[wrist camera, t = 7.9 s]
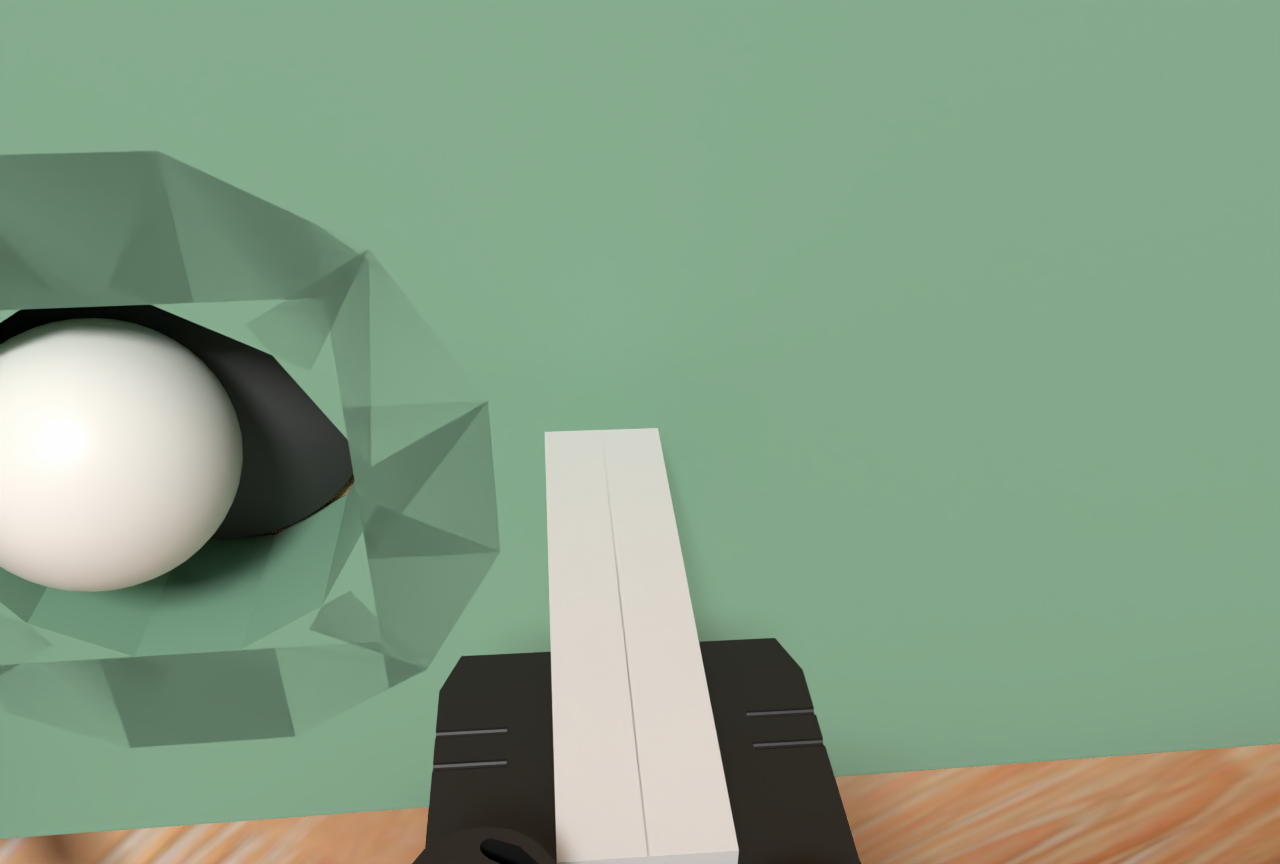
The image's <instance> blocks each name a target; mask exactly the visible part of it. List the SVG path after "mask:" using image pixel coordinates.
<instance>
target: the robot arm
mask: <svg viewBox="0 0 1280 864" xmlns="http://www.w3.org/2000/svg"><path fill="white" fill-rule="evenodd" d="M545 467H546V502H547V537H548V572H549V607H550V643H551V652H533V653H513V654H493V655H473V656H461V657H460V659H459V661H458V662H457V664H456V665H455V667H454V669H453V670H452V672H451V673H450V675H449V677H448V678H447V680H446V681H445V683H444V685H443V686H442V688H441V689H440V691H439V700H438V712H437V723H436V738H435V745H434V757H433V771H432V779H431V790H430V801H429V813H428V824H427V835H426V846H425V849H424V850H423V852H422V853H421V854H420V855H419V856H418V858H417V859H416V860H415V861H414V862H413V863H412V864H861V862H860V860H859V858H858V854H857V851H856V847H855V844H854V841H853V837H852V834H851V831H850V827H849V824H848V820H847V817H846V814H845V810H844V807H843V804H842V800H841V797H840V794H839V790H838V787H837V783H836V780H835V777H834V773H833V770H832V767H831V763H830V760H829V757H828V753H827V750H826V746H824V745H823V736H822V733H821V730H820V726H819V723H818V720H817V716H816V715H814V706H813V703H812V699H811V696H810V693H809V689H808V686H807V683H806V679H805V676H804V672H803V669H802V668H801V667H800V666H799V665H798V664H797V663H796V661H795V660H794V659H793V658H792V657H791V656H790V655H789V653H788V652H787V651H786V650H785V649H784V648H783V647H782V645H781V644H780V643H779V642H778V641H777V640H776V638H762V639H741V640H721V641H701V642H699V640H698V635H697V630H696V624H695V619H694V614H693V609H692V603H691V598H690V593H689V588H688V583H687V577H686V572H685V567H684V562H683V557H682V551H681V546H680V541H679V536H678V531H677V525H676V520H675V515H674V510H673V504H672V499H671V494H670V489H669V484H668V478H667V473H666V468H665V463H664V458H663V452H662V447H661V442H660V437H659V432H658V428H643V429H613V430H582V431H552V432H545Z"/></svg>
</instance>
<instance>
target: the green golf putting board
mask: <svg viewBox="0 0 1280 864" xmlns="http://www.w3.org/2000/svg"><path fill="white" fill-rule="evenodd" d="M7 318H8V319H7ZM79 318H104V319H116V320H121V321H126V322H131V323H135V324H138V325H141V326H144V327H147V328H150V329H153V330H155V331H157V332H159V333H161V334H164V335H166V336H168V337H170V338H172V339H174V340H175V341H177V342H178V343H180V344H181V345H183V346H184V347H186V348H188V349H189V350H190V351H191V352H192V353H194V354H195V355H196V356H197V357H198V358H199V359H201V360H202V361H203V362H204V363H205V364H206V365H207V367H208V368H209V369H210V370H211V371H212V372H213V373H214V374H215V376H216V377H217V378H218V380H219V381H220V383H221V384H222V386H223V387H224V389H225V390H226V392H227V394H228V396H229V398H230V400H231V402H232V405H233V407H234V409H235V412H236V415H237V418H238V422H239V426H240V430H241V436H242V447H243V463H242V470H241V476H240V482H239V486H238V489H237V492H236V495H235V498H234V501H233V503H232V505H231V507H230V509H229V511H228V513H227V515H226V517H225V519H224V520H223V522H222V523H221V525H220V526H219V528H218V529H217V530H216V532H215V533H214V534H213V535H212V537H211V538H210V539H209V540H208V541H207V542H206V543H205V544H204V545H203V546H202V547H201V549H199V550H198V551H197V552H196V553H195V554H193V555H192V556H191V557H190V558H189V559H188V560H186V561H185V562H183V563H182V564H180V565H179V566H177V567H176V568H174V569H172V570H171V571H169V572H167V573H165V574H162V575H160V576H158V577H156V578H154V579H152V580H149V581H146V582H143V583H140V584H137V585H134V586H131V587H126V588H121V589H117V590H110V591H98V592H86V591H67V590H61V589H55V588H49V587H46V586H43V585H40V584H36V583H33V582H30V581H28V580H25V579H23V578H21V577H19V576H17V575H14V574H12V573H10V572H8V571H7V570H5V569H3V568H2V567H0V839H6V838H19V837H33V836H46V835H60V834H73V833H87V832H100V831H113V830H127V829H140V828H154V827H167V826H181V825H194V824H207V823H221V822H234V821H248V820H261V819H275V818H288V817H301V816H315V815H328V814H342V813H355V812H369V811H382V810H396V809H409V808H422V807H429V801H430V790H431V779H432V771H433V757H434V745H435V738H436V723H437V712H438V700H439V691H440V689H441V688H442V686H443V685H444V683H445V681H446V680H447V678H448V677H449V675H450V673H451V672H452V670H453V669H454V667H455V665H456V664H457V662H458V661H459V659H460V657H461V656H473V655H493V654H513V653H533V652H551V643H550V607H549V572H548V537H547V502H546V467H545V432H552V431H582V430H613V429H643V428H658V432H659V437H660V442H661V447H662V452H663V458H664V463H665V468H666V473H667V478H668V484H669V489H670V494H671V499H672V504H673V510H674V515H675V520H676V525H677V531H678V536H679V541H680V546H681V551H682V557H683V562H684V567H685V572H686V577H687V583H688V588H689V593H690V598H691V603H692V609H693V614H694V619H695V624H696V630H697V635H698V640H699V642H701V641H721V640H741V639H762V638H776V640H777V641H778V642H779V643H780V644H781V645H782V647H783V648H784V649H785V650H786V651H787V652H788V653H789V655H790V656H791V657H792V658H793V659H794V660H795V661H796V663H797V664H798V665H799V666H800V667H801V668H802V669H803V672H804V676H805V679H806V683H807V686H808V689H809V693H810V696H811V699H812V703H813V706H814V715H816V716H817V720H818V723H819V726H820V730H821V733H822V736H823V745H824V746H826V750H827V753H828V757H829V760H830V763H831V767H832V770H833V773H834V777H839V776H852V775H866V774H879V773H893V772H906V771H919V770H933V769H946V768H960V767H973V766H987V765H1000V764H1013V763H1027V762H1040V761H1054V760H1067V759H1081V758H1094V757H1107V756H1121V755H1134V754H1148V753H1161V752H1175V751H1188V750H1202V749H1215V748H1228V747H1242V746H1255V745H1269V744H1280V0H0V325H1V322H2V321H4V320H5V319H7V321H6V324H5V326H4V331H3V335H2V340H1V344H2V343H4V342H5V341H7V340H8V339H10V338H12V337H14V336H16V335H19V334H21V333H23V332H25V331H28V330H30V329H32V328H34V327H38V326H41V325H44V324H48V323H51V322H56V321H62V320H68V319H79ZM352 474H354V480H355V481H354V483H353V485H352V487H351V488H350V490H349V492H348V494H347V495H345V496H343V497H342V498H340V499H338V500H336V501H334V502H333V503H331V504H329V505H327V506H325V507H324V508H322V509H320V510H318V509H319V508H321V507H322V506H324V505H325V504H326V503H327V502H328V501H329V500H331V499H332V498H333V497H334V496H335V495H336V494H337V493H338V492H339V491H340V490H341V489H342V487H343V486H344V485H345V484H346V483H347V482H348V480H349V479H350V477H351V476H352ZM316 510H318V511H317V512H315V511H316ZM313 512H315V513H313ZM312 513H313V514H312ZM310 514H311V515H310ZM307 516H308V517H307ZM303 518H304V519H303ZM301 519H302V520H301ZM299 520H300V521H299ZM297 521H299V522H297ZM295 522H297V523H295ZM293 523H295V524H293ZM291 524H293V525H292V526H290V527H288V528H286V529H284V530H283V531H281V532H279V533H277V534H275V535H260V534H264V533H269V532H272V531H275V530H278V529H281V528H283V527H286V526H289V525H291ZM255 535H258V536H255Z"/></svg>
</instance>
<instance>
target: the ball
mask: <svg viewBox="0 0 1280 864" xmlns="http://www.w3.org/2000/svg"><path fill="white" fill-rule="evenodd" d="M242 463H243V447H242V436H241V430H240V426H239V422H238V418H237V415H236V412H235V409H234V407H233V405H232V402H231V400H230V398H229V396H228V394H227V392H226V390H225V389H224V387H223V386H222V384H221V383H220V381H219V380H218V378H217V377H216V376H215V374H214V373H213V372H212V371H211V370H210V369H209V368H208V367H207V365H206V364H205V363H204V362H203V361H202V360H201V359H199V358H198V357H197V356H196V355H195V354H194V353H192V352H191V351H190V350H189V349H188V348H186V347H184V346H183V345H181V344H180V343H178V342H177V341H175V340H174V339H172V338H170V337H168V336H166V335H164V334H161V333H159V332H157V331H155V330H153V329H150V328H147V327H144V326H141V325H138V324H135V323H131V322H126V321H121V320H116V319H104V318H79V319H68V320H62V321H56V322H51V323H48V324H44V325H41V326H38V327H34V328H32V329H30V330H28V331H25V332H23V333H21V334H19V335H16V336H14V337H12V338H10V339H8V340H7V341H5V342H4V343H2V344H0V567H2V568H3V569H5V570H7V571H8V572H10V573H12V574H14V575H17V576H19V577H21V578H23V579H25V580H28V581H30V582H33V583H36V584H40V585H43V586H46V587H49V588H55V589H61V590H67V591H86V592H98V591H110V590H117V589H121V588H126V587H131V586H134V585H137V584H140V583H143V582H146V581H149V580H152V579H154V578H156V577H158V576H160V575H162V574H165V573H167V572H169V571H171V570H172V569H174V568H176V567H177V566H179V565H180V564H182V563H183V562H185V561H186V560H188V559H189V558H190V557H191V556H192V555H193V554H195V553H196V552H197V551H198V550H199V549H201V547H202V546H203V545H204V544H205V543H206V542H207V541H208V540H209V539H210V538H211V537H212V535H213V534H214V533H215V532H216V530H217V529H218V528H219V526H220V525H221V523H222V522H223V520H224V519H225V517H226V515H227V513H228V511H229V509H230V507H231V505H232V503H233V501H234V498H235V495H236V492H237V489H238V486H239V482H240V476H241V470H242Z"/></svg>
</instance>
